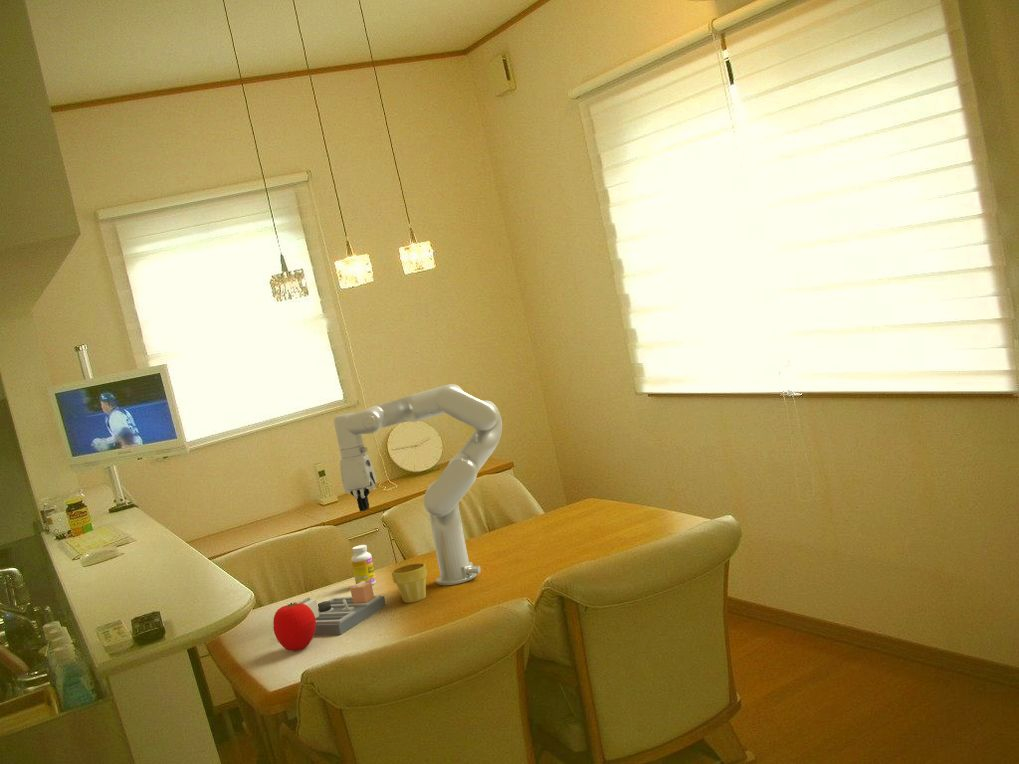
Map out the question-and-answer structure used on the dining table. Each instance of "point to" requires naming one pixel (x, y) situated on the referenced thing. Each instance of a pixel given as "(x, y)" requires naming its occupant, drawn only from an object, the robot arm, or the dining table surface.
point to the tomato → (294, 626)
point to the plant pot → (411, 581)
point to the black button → (324, 606)
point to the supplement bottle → (363, 565)
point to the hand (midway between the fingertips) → (364, 510)
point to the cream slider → (311, 606)
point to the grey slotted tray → (346, 614)
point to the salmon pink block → (362, 592)
